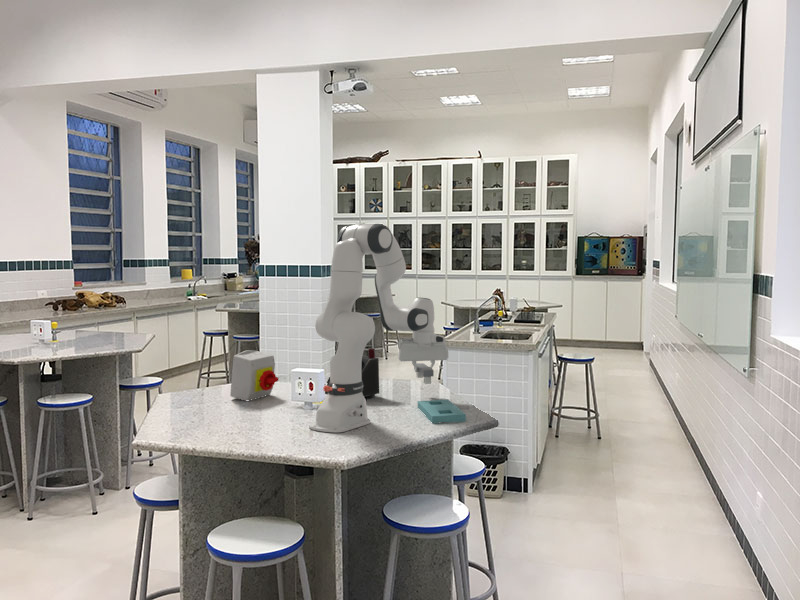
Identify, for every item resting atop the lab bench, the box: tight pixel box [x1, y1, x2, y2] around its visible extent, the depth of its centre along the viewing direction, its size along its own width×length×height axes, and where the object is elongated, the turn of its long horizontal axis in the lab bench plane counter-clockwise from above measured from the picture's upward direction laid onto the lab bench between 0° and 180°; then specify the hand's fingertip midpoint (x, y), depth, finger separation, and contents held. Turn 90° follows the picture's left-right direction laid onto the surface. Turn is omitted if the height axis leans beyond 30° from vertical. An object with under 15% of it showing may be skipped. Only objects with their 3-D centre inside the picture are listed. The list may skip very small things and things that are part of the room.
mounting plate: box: [417, 398, 467, 424], centre depth 233 cm, size 24×12×2 cm, turn 11°
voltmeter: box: [324, 348, 380, 398], centre depth 264 cm, size 16×16×20 cm
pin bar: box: [413, 362, 435, 385], centre depth 257 cm, size 18×4×6 cm, turn 11°
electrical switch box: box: [229, 349, 279, 401], centre depth 265 cm, size 15×15×20 cm
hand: (423, 371), depth 257 cm, fingers closed on pin bar, 4 cm apart
